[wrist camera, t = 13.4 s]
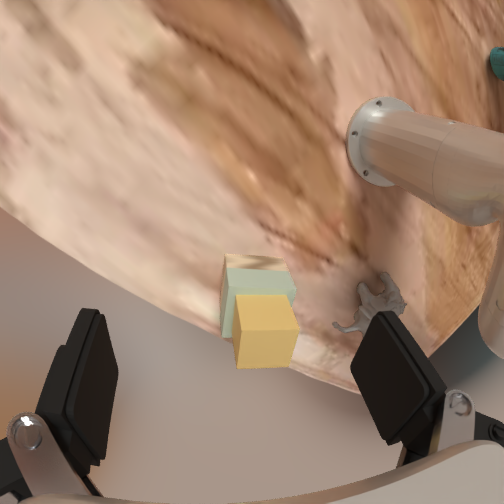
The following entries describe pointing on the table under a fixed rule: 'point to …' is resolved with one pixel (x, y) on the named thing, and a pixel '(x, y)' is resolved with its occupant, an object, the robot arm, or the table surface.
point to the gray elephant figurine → (375, 304)
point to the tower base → (251, 265)
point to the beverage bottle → (497, 61)
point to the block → (263, 331)
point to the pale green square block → (251, 290)
